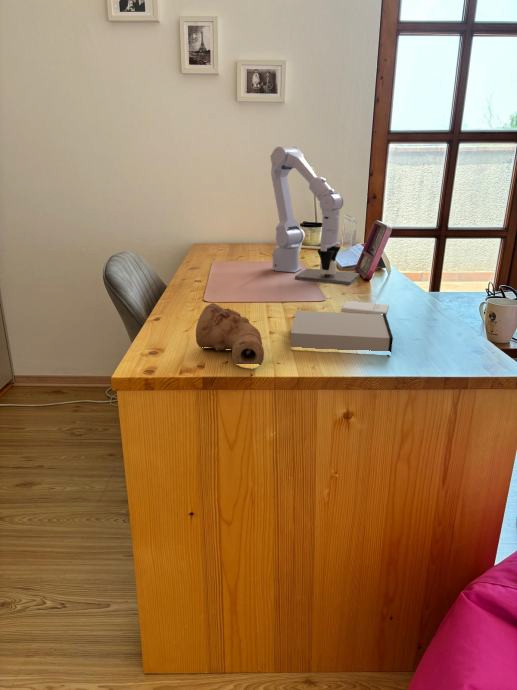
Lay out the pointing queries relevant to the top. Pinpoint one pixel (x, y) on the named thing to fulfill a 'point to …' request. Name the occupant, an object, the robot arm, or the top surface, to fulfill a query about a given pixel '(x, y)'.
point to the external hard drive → (365, 307)
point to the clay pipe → (229, 334)
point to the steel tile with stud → (328, 276)
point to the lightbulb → (302, 241)
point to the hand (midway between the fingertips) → (328, 268)
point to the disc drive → (341, 331)
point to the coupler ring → (331, 269)
